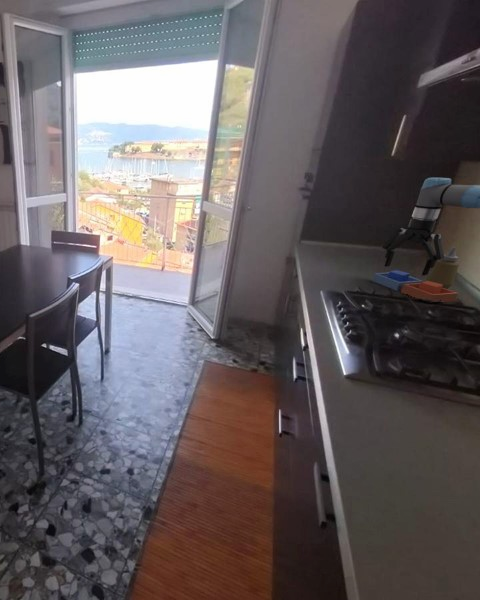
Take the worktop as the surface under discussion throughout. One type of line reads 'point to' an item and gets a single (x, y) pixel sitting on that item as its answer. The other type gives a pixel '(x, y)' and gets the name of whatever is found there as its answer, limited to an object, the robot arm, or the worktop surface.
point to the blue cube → (398, 276)
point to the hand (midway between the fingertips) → (405, 270)
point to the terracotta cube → (430, 287)
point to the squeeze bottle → (445, 269)
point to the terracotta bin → (417, 293)
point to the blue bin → (392, 281)
